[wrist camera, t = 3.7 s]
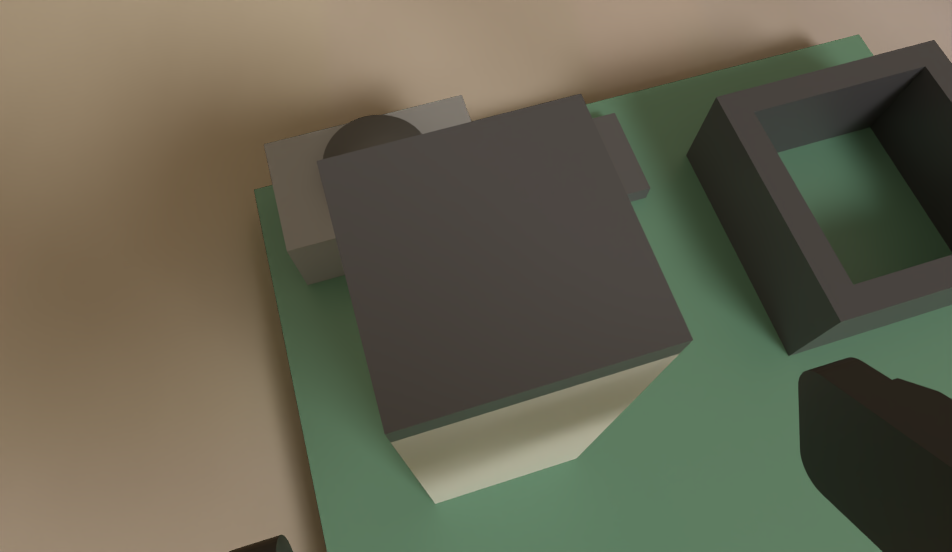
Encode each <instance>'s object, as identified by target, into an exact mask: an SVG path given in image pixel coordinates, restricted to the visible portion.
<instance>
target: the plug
mask: <svg viewBox="0 0 952 552" xmlns="http://www.w3.org/2000/svg"><path fill="white" fill-rule="evenodd" d="M317 165H318V169H319V173H320V177H321V181H322V185H323V189H324V193H325V197H326V201H327V205H328V209H329V213H330V217H331V221H332V225H333V229H334V233H335V237H336V241H337V245H338V249H339V253H340V257H341V261H342V265H343V269H344V273H345V277H346V281H347V285H348V289H349V293H350V297H351V301H352V305H353V309H354V313H355V317H356V321H357V325H358V329H359V333H360V337H361V341H362V345H363V349H364V353H365V357H366V361H367V365H368V369H369V373H370V377H371V382H372V386H373V390H374V394H375V398H376V402H377V406H378V410H379V414H380V418H381V422H382V426H383V430H384V434H385V435H386V437H387V438H388V440H389V441H390V442H391V444H392V445H393V446H394V448H395V449H396V451H397V452H398V453H399V455H400V456H401V457H402V459H403V460H404V462H405V463H406V464H407V466H408V467H409V468H410V470H411V471H412V473H413V474H414V475H415V477H416V478H417V479H418V481H419V482H420V484H421V485H422V486H423V488H424V489H425V490H426V492H427V493H428V494H429V496H430V497H431V499H432V500H433V501H434V503H435V504H437V503H440V502H443V501H446V500H449V499H452V498H455V497H458V496H461V495H465V494H468V493H471V492H474V491H477V490H480V489H483V488H486V487H489V486H493V485H496V484H499V483H502V482H505V481H508V480H511V479H514V478H517V477H520V476H524V475H527V474H530V473H533V472H536V471H539V470H542V469H545V468H548V467H552V466H555V465H558V464H561V463H564V462H567V461H570V460H573V459H576V458H577V457H578V456H579V455H580V454H581V453H582V452H583V451H584V450H585V449H586V448H587V447H588V446H589V445H590V444H591V443H592V442H593V441H594V440H595V439H596V438H597V437H598V436H599V435H600V434H601V433H602V432H603V431H604V430H605V429H606V428H607V427H608V426H609V425H610V424H611V423H612V422H613V421H614V420H615V419H616V418H617V417H618V416H619V415H620V414H621V413H622V412H623V411H624V410H625V409H626V408H627V407H628V406H629V405H630V404H631V403H632V402H633V401H634V400H635V399H636V397H637V396H638V395H639V394H640V393H641V392H642V391H643V390H644V389H645V388H646V387H647V386H648V385H649V384H650V383H651V382H652V381H653V380H654V379H655V378H656V377H657V376H658V375H659V374H660V373H661V372H662V371H663V370H664V369H665V368H666V367H667V366H668V365H669V364H670V363H671V362H672V361H673V360H674V359H675V358H676V357H677V356H678V355H679V354H680V353H681V352H682V351H683V350H684V349H685V348H686V347H687V346H688V345H689V344H690V343H691V342H692V341H693V338H692V336H691V334H690V331H689V329H688V327H687V325H686V323H685V320H684V318H683V316H682V314H681V312H680V309H679V307H678V305H677V303H676V301H675V298H674V296H673V294H672V292H671V290H670V288H669V285H668V283H667V281H666V279H665V277H664V274H663V272H662V270H661V268H660V266H659V263H658V261H657V259H656V257H655V255H654V252H653V250H652V248H651V246H650V244H649V242H648V239H647V237H646V235H645V233H644V231H643V228H642V226H641V224H640V222H639V220H638V217H637V215H636V213H635V211H634V209H633V206H632V204H631V202H630V200H629V198H628V196H627V193H626V191H625V189H624V187H623V185H622V182H621V180H620V178H619V176H618V174H617V171H616V169H615V167H614V165H613V163H612V160H611V158H610V156H609V154H608V152H607V150H606V147H605V145H604V143H603V141H602V139H601V136H600V134H599V132H598V130H597V128H596V125H595V123H594V121H593V119H592V117H591V114H590V112H589V110H588V108H587V106H586V104H585V101H584V99H583V97H582V95H581V94H578V95H574V96H570V97H566V98H562V99H558V100H554V101H550V102H546V103H543V104H539V105H535V106H531V107H527V108H523V109H519V110H515V111H511V112H507V113H503V114H499V115H495V116H491V117H488V118H484V119H480V120H476V121H472V122H468V123H464V124H460V125H456V126H452V127H448V128H444V129H440V130H436V131H433V132H429V133H425V134H421V135H417V136H413V137H409V138H405V139H401V140H397V141H393V142H389V143H385V144H381V145H377V146H374V147H370V148H366V149H362V150H358V151H354V152H350V153H346V154H342V155H338V156H334V157H330V158H326V159H322V160H319V161H317Z"/></svg>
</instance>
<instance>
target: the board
mask: <svg viewBox="0 0 952 552" xmlns="http://www.w3.org/2000/svg"><path fill="white" fill-rule="evenodd" d="M586 106H587V108H588V110H589V112H590V114H591V117H592V119H593V121H594V123H595V125H596V128H597V130H598V132H599V134H600V136H601V139H602V141H603V143H604V145H605V147H606V150H607V152H608V154H609V156H610V158H611V160H612V163H613V165H614V167H615V169H616V171H617V174H618V176H619V178H620V180H621V182H622V185H623V187H624V189H625V191H626V193H627V196H628V198H629V200H630V202H631V204H632V206H633V209H634V211H635V213H636V215H637V217H638V220H639V222H640V224H641V226H642V228H643V231H644V233H645V235H646V237H647V239H648V242H649V244H650V246H651V248H652V250H653V252H654V255H655V257H656V259H657V261H658V263H659V266H660V268H661V270H662V272H663V274H664V277H665V279H666V281H667V283H668V285H669V288H670V290H671V292H672V294H673V296H674V298H675V301H676V303H677V305H678V307H679V309H680V312H681V314H682V316H683V318H684V320H685V323H686V325H687V327H688V329H689V331H690V334H691V336H692V338H693V341H692V342H691V343H690V344H689V345H688V346H687V347H686V348H685V349H684V350H683V351H682V352H681V353H680V354H679V355H678V356H677V357H676V358H675V359H674V360H673V361H672V362H671V363H670V364H669V365H668V366H667V367H666V368H665V369H664V370H663V371H662V372H661V373H660V374H659V375H658V376H657V377H656V378H655V379H654V380H653V381H652V382H651V383H650V384H649V385H648V386H647V387H646V388H645V389H644V390H643V391H642V392H641V393H640V394H639V395H638V396H637V397H636V399H635V400H634V401H633V402H632V403H631V404H630V405H629V406H628V407H627V408H626V409H625V410H624V411H623V412H622V413H621V414H620V415H619V416H618V417H617V418H616V419H615V420H614V421H613V422H612V423H611V424H610V425H609V426H608V427H607V428H606V429H605V430H604V431H603V432H602V433H601V434H600V435H599V436H598V437H597V438H596V439H595V440H594V441H593V442H592V443H591V444H590V445H589V446H588V447H587V448H586V449H585V450H584V451H583V452H582V453H581V454H580V455H579V456H578V457H577V458H576V459H573V460H570V461H567V462H564V463H561V464H558V465H555V466H552V467H548V468H545V469H542V470H539V471H536V472H533V473H530V474H527V475H524V476H520V477H517V478H514V479H511V480H508V481H505V482H502V483H499V484H496V485H493V486H489V487H486V488H483V489H480V490H477V491H474V492H471V493H468V494H465V495H461V496H458V497H455V498H452V499H449V500H446V501H443V502H440V503H437V504H435V503H434V501H433V500H432V499H431V497H430V496H429V494H428V493H427V492H426V490H425V489H424V488H423V486H422V485H421V484H420V482H419V481H418V479H417V478H416V477H415V475H414V474H413V473H412V471H411V470H410V468H409V467H408V466H407V464H406V463H405V462H404V460H403V459H402V457H401V456H400V455H399V453H398V452H397V451H396V449H395V448H394V446H393V445H392V444H391V442H390V441H389V440H388V438H387V437H386V435H385V434H384V430H383V426H382V422H381V418H380V414H379V410H378V406H377V402H376V398H375V394H374V390H373V386H372V382H371V377H370V373H369V369H368V365H367V361H366V357H365V353H364V349H363V345H362V341H361V337H360V333H359V329H358V325H357V321H356V317H355V313H354V309H353V305H352V301H351V297H350V293H349V289H348V285H347V281H346V277H345V273H344V269H343V265H342V261H341V257H340V253H339V249H338V245H337V241H336V237H335V233H334V229H333V225H332V221H331V217H330V213H329V209H328V205H327V201H326V197H325V193H324V189H323V185H322V181H321V177H320V173H319V169H318V165H317V161H319V160H322V159H326V158H330V157H334V156H338V155H342V154H346V153H350V152H354V151H358V150H362V149H366V148H370V147H374V146H377V145H381V144H385V143H389V142H393V141H397V140H401V139H405V138H409V137H413V136H417V135H421V134H425V133H429V132H433V131H436V130H440V129H444V128H448V127H452V126H456V125H460V124H464V123H468V122H471V119H470V116H469V114H468V111H467V108H466V105H465V103H464V100H463V97H462V95H459V96H455V97H451V98H447V99H443V100H439V101H435V102H431V103H427V104H423V105H419V106H415V107H411V108H407V109H403V110H399V111H395V112H391V113H387V114H383V115H371V116H366V117H362V118H358V119H356V120H354V121H351V122H350V123H347V124H343V125H339V126H335V127H331V128H327V129H323V130H319V131H315V132H311V133H307V134H303V135H299V136H295V137H291V138H287V139H283V140H279V141H275V142H271V143H267V144H264V148H265V152H266V157H267V161H268V166H269V171H270V175H271V180H272V185H270V186H267V187H263V188H259V189H255V190H254V193H255V198H256V203H257V208H258V212H259V217H260V222H261V227H262V232H263V237H264V242H265V247H266V252H267V257H268V262H269V267H270V272H271V277H272V282H273V287H274V292H275V297H276V302H277V307H278V311H279V316H280V321H281V326H282V331H283V336H284V341H285V346H286V351H287V356H288V361H289V366H290V371H291V376H292V381H293V386H294V391H295V396H296V401H297V406H298V410H299V415H300V420H301V425H302V430H303V435H304V440H305V445H306V450H307V455H308V460H309V465H310V470H311V475H312V480H313V485H314V490H315V495H316V500H317V504H318V509H319V514H320V519H321V524H322V529H323V534H324V539H325V544H326V549H327V552H882V551H881V550H880V549H879V548H878V547H877V546H876V545H875V544H874V543H873V542H872V541H871V540H870V539H869V538H868V537H867V536H865V535H864V534H863V533H862V532H861V531H860V530H859V529H858V528H857V527H856V526H855V525H854V524H853V523H852V522H851V521H850V520H849V519H848V518H846V517H845V516H844V515H843V514H842V513H841V512H840V511H839V510H838V509H837V508H836V507H835V506H834V505H833V504H832V503H831V502H830V501H829V500H827V499H826V498H825V497H824V496H823V495H822V494H821V493H820V492H819V491H818V490H817V488H816V487H815V486H814V484H813V483H812V482H811V480H810V478H809V477H808V475H807V473H806V471H805V468H804V466H803V463H802V459H801V455H800V435H799V400H798V381H799V377H800V375H801V374H802V373H803V372H804V371H807V370H810V369H813V368H816V367H819V366H823V365H826V364H829V363H832V362H835V361H838V360H842V359H845V358H849V357H853V358H857V359H859V360H861V361H863V362H865V363H866V364H868V365H869V366H871V367H873V368H874V369H876V370H877V371H879V372H881V373H882V374H884V375H885V376H887V377H889V378H890V379H892V380H893V379H896V378H899V379H902V380H906V381H909V382H912V383H915V384H918V385H921V386H924V387H927V388H930V389H933V390H936V391H939V392H941V393H943V394H944V395H946V396H948V397H949V398H951V399H952V63H951V62H950V61H949V59H948V58H947V57H946V55H945V54H944V52H943V51H942V50H941V48H940V47H939V46H938V44H937V43H936V42H935V40H932V41H928V42H925V43H921V44H917V45H913V46H909V47H905V48H902V49H898V50H894V51H890V52H886V53H883V54H879V55H875V56H873V54H872V53H871V51H870V50H869V48H868V47H867V46H866V44H865V43H864V41H863V40H862V38H861V37H860V35H855V36H851V37H847V38H843V39H839V40H835V41H831V42H828V43H824V44H820V45H816V46H812V47H808V48H804V49H800V50H796V51H793V52H789V53H785V54H781V55H777V56H773V57H769V58H765V59H761V60H757V61H754V62H750V63H746V64H742V65H738V66H734V67H730V68H726V69H722V70H718V71H715V72H711V73H707V74H703V75H699V76H695V77H691V78H687V79H683V80H680V81H676V82H672V83H668V84H664V85H660V86H656V87H652V88H648V89H644V90H641V91H637V92H633V93H629V94H625V95H621V96H617V97H613V98H609V99H606V100H602V101H598V102H594V103H590V104H586Z"/></svg>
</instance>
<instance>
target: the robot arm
mask: <svg viewBox="0 0 952 552" xmlns="http://www.w3.org/2000/svg"><path fill="white" fill-rule="evenodd" d="M798 400H799V435H800V455H801V459H802V463H803V466H804V468H805V471H806V473H807V475H808V477H809V478H810V480H811V482H812V483H813V484H814V486H815V487H816V488H817V490H818V491H819V492H820V493H821V494H822V495H823V496H824V497H825V498H826V499H827V500H829V501H830V502H831V503H832V504H833V505H834V506H835V507H836V508H837V509H838V510H839V511H840V512H841V513H842V514H843V515H844V516H845V517H846V518H848V519H849V520H850V521H851V522H852V523H853V524H854V525H855V526H856V527H857V528H858V529H859V530H860V531H861V532H862V533H863V534H864V535H865V536H867V537H868V538H869V539H870V540H871V541H872V542H873V543H874V544H875V545H876V546H877V547H878V548H879V549H880V550H881V551H882V552H952V399H951V398H949V397H948V396H946V395H944V394H943V393H941V392H939V391H936V390H933V389H930V388H927V387H924V386H921V385H918V384H915V383H912V382H909V381H906V380H902V379H899V378H896V379H893V380H892V379H890V378H889V377H887V376H885V375H884V374H882V373H881V372H879V371H877V370H876V369H874V368H873V367H871V366H869V365H868V364H866V363H865V362H863V361H861V360H859V359H857V358H853V357H849V358H845V359H842V360H838V361H835V362H832V363H829V364H826V365H823V366H819V367H816V368H813V369H810V370H807V371H804V372H803V373H802V374H801V375H800V377H799V381H798ZM229 552H293V551H292V548H291V546H290V544H289V542H288V540H287V539H286V537H285V536H283V535H279V536H276V537H273V538H270V539H266V540H263V541H260V542H257V543H254V544H251V545H247V546H244V547H241V548H238V549H235V550H232V551H229Z"/></svg>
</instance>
